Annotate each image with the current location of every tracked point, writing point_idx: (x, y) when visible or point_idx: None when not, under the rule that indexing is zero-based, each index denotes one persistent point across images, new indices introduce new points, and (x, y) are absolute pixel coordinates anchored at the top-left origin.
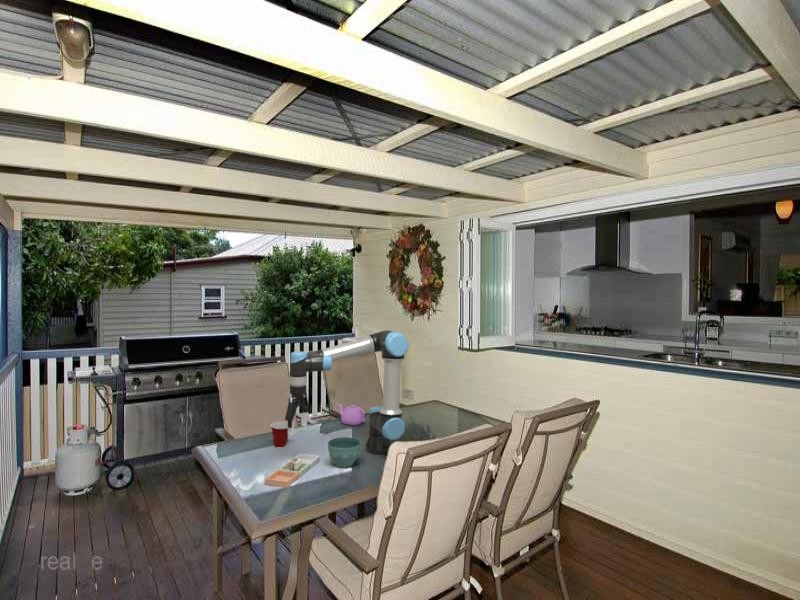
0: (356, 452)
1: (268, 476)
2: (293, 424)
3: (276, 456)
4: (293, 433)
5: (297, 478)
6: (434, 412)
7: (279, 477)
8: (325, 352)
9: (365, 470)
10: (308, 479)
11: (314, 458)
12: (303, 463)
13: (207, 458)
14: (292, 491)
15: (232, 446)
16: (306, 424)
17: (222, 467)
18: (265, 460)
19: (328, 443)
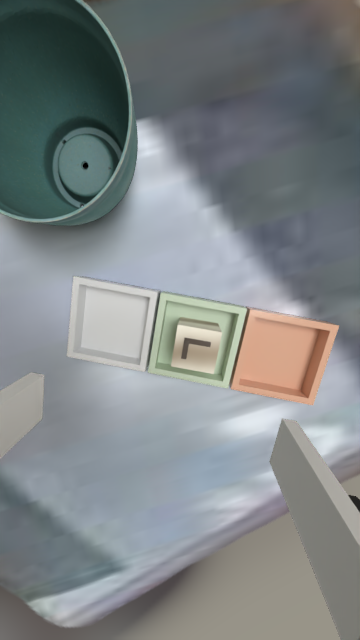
0: (86, 42)
1: (291, 400)
2: (349, 512)
3: (76, 428)
4: (293, 426)
5: (255, 308)
6: None
7: (253, 368)
8: None
9: (134, 54)
10: (251, 270)
11: (82, 296)
12: (158, 318)
13: (135, 590)
14: (354, 295)
15: (33, 563)
16: (30, 382)
17: (190, 539)
18: (116, 449)
19: (52, 219)
